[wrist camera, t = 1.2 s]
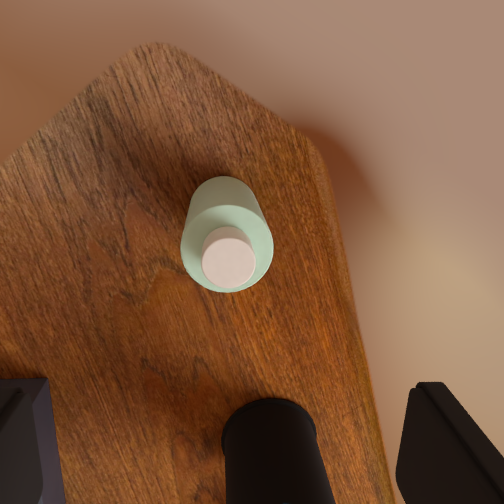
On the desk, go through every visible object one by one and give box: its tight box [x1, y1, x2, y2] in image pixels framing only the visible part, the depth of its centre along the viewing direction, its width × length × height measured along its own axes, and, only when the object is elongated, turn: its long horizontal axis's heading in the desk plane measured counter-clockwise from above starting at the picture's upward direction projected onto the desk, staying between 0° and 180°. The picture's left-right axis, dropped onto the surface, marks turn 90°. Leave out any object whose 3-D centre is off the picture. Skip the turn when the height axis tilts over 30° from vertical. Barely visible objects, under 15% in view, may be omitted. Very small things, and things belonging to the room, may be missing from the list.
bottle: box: [180, 176, 273, 292], centre depth 26 cm, size 5×5×11 cm
